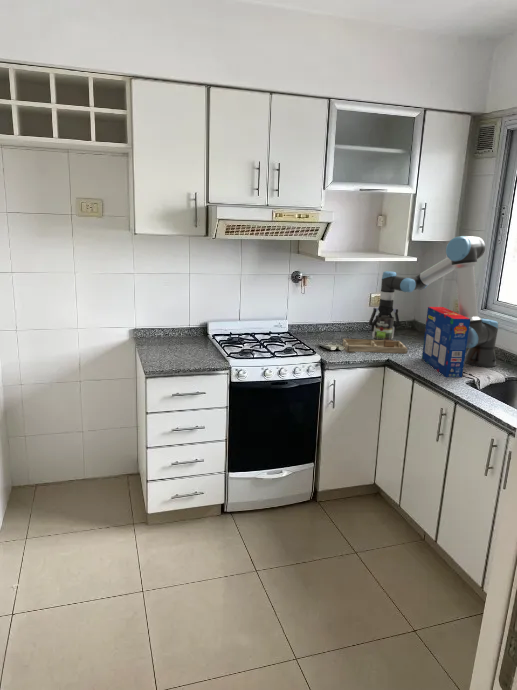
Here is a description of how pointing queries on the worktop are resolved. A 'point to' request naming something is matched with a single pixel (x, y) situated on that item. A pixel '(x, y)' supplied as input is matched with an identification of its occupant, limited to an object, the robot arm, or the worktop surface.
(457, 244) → the robot arm
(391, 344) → the walnut cube
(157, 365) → the worktop surface
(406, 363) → the worktop surface
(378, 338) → the coffee can
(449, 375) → the blue cardboard box
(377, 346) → the wooden organizer
